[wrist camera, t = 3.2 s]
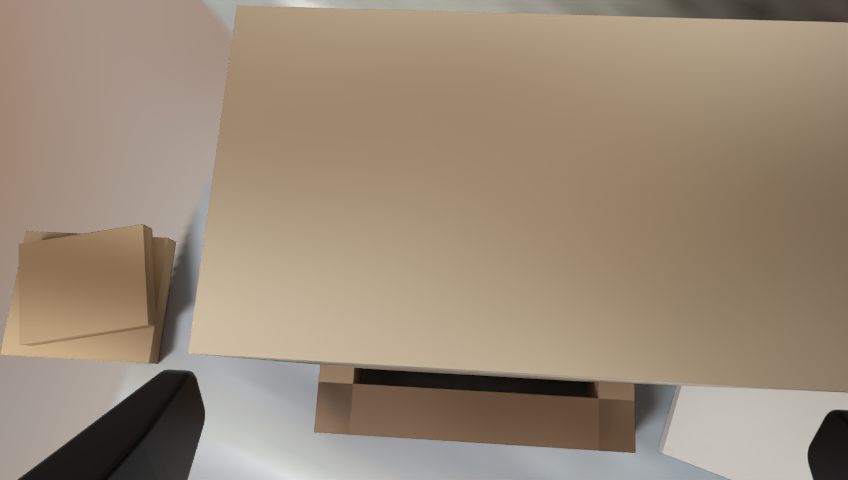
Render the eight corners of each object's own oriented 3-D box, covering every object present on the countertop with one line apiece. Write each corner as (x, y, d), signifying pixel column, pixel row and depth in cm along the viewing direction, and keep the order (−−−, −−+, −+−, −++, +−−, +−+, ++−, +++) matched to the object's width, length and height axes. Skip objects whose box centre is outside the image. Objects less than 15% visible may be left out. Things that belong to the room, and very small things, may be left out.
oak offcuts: (160, 363, 19) (141, 362, 18) (13, 354, 20) (-14, 353, 18) (179, 234, 20) (163, 225, 19) (39, 227, 20) (14, 218, 19)
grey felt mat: (895, 543, 17) (905, 547, 17) (658, 451, 18) (662, 453, 18) (941, 315, 19) (952, 313, 18) (718, 238, 20) (723, 236, 19)
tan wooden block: (572, 380, 19) (906, 395, 5) (374, 369, 19) (188, 353, 5) (573, 269, 19) (864, 22, 6) (382, 260, 20) (236, 5, 6)
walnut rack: (619, 446, 18) (635, 452, 17) (324, 427, 19) (313, 432, 17) (616, 216, 20) (630, 202, 18) (345, 204, 20) (336, 190, 19)
